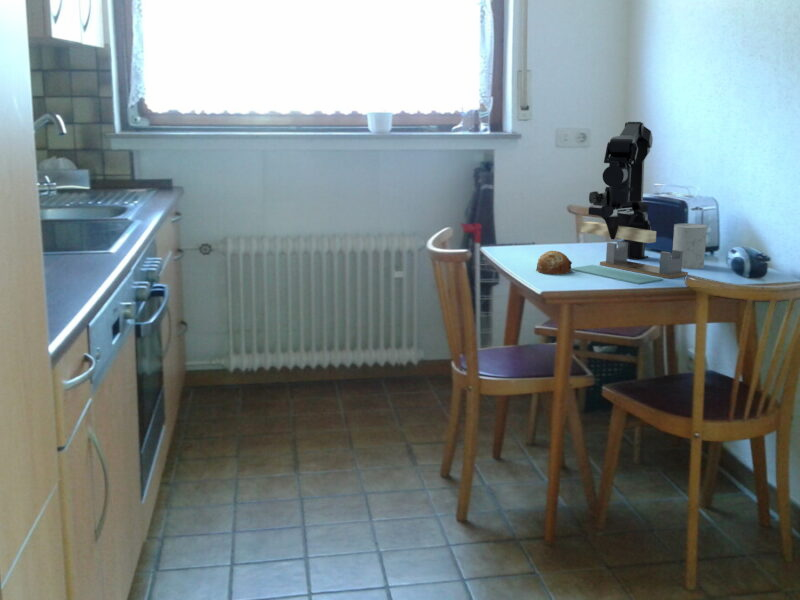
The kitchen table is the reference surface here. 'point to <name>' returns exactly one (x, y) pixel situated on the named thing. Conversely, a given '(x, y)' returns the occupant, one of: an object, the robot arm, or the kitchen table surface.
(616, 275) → the mat
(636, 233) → the rail
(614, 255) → the bracketed wooden plank
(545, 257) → the bread roll
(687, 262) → the grey stone cylinder
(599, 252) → the kitchen table surface
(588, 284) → the kitchen table surface
